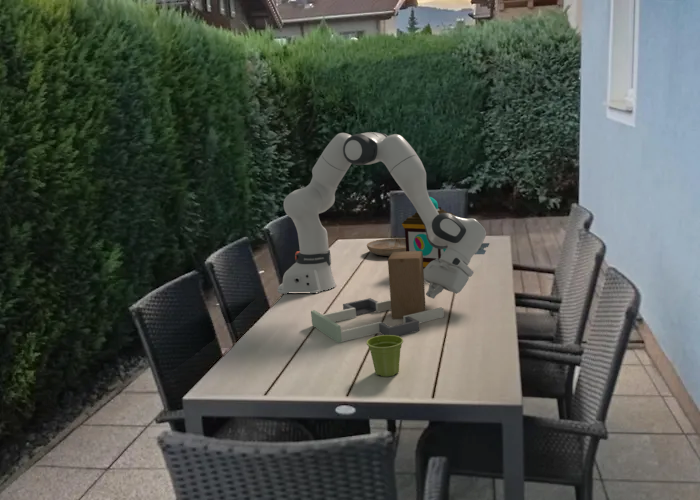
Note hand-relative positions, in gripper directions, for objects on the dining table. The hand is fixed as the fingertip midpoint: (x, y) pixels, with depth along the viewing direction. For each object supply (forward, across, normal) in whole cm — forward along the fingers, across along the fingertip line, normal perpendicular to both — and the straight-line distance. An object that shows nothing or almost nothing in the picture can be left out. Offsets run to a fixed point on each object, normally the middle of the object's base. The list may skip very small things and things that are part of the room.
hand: (429, 296), depth 226 cm
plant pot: (+30, +38, -23) cm, 54 cm away
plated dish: (-36, -68, +44) cm, 89 cm away
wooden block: (+9, 0, -3) cm, 9 cm away
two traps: (+17, 0, -11) cm, 20 cm away
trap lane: (+17, 0, -11) cm, 20 cm away
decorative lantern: (-17, -43, +23) cm, 52 cm away
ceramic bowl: (-19, -81, +26) cm, 87 cm away
